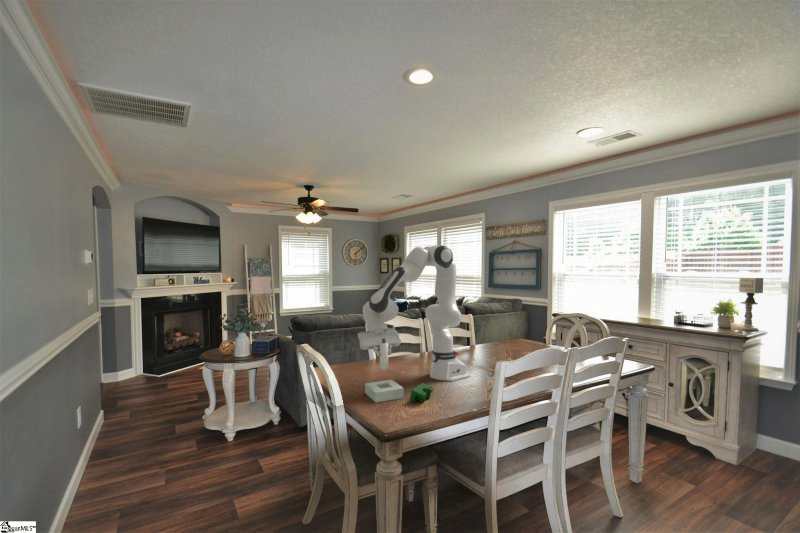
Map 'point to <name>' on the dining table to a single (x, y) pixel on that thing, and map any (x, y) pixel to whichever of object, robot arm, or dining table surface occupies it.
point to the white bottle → (384, 354)
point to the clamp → (421, 393)
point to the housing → (384, 390)
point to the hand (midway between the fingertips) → (384, 354)
